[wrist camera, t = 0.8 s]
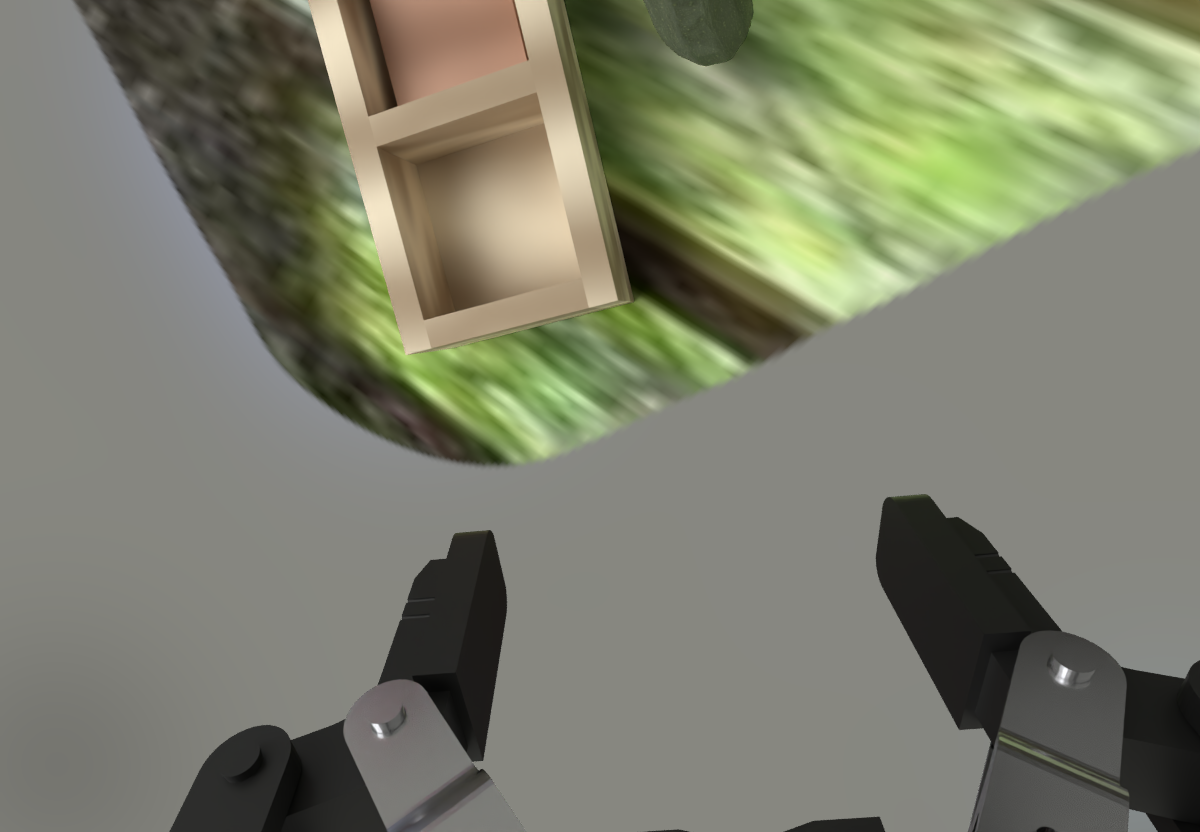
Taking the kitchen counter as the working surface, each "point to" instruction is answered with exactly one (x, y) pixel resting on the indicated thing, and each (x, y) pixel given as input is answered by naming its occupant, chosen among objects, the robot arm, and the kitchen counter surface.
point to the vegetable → (702, 27)
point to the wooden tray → (474, 163)
